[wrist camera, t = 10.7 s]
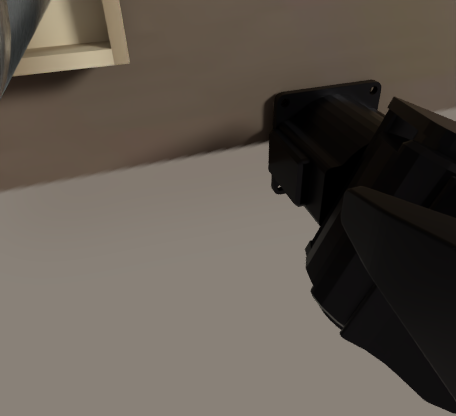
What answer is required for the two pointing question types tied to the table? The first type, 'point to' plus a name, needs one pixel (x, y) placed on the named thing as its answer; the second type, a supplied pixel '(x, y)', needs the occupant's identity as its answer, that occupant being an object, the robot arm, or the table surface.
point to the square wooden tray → (76, 38)
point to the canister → (17, 33)
